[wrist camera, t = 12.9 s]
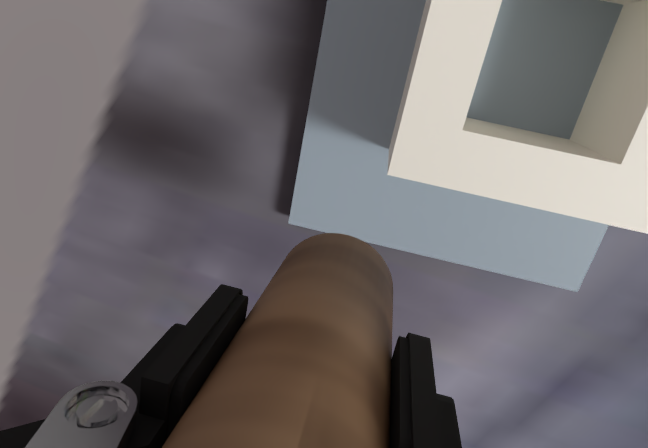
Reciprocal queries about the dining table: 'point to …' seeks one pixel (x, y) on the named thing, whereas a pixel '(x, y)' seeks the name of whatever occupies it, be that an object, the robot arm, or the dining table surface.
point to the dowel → (304, 358)
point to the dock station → (479, 130)
